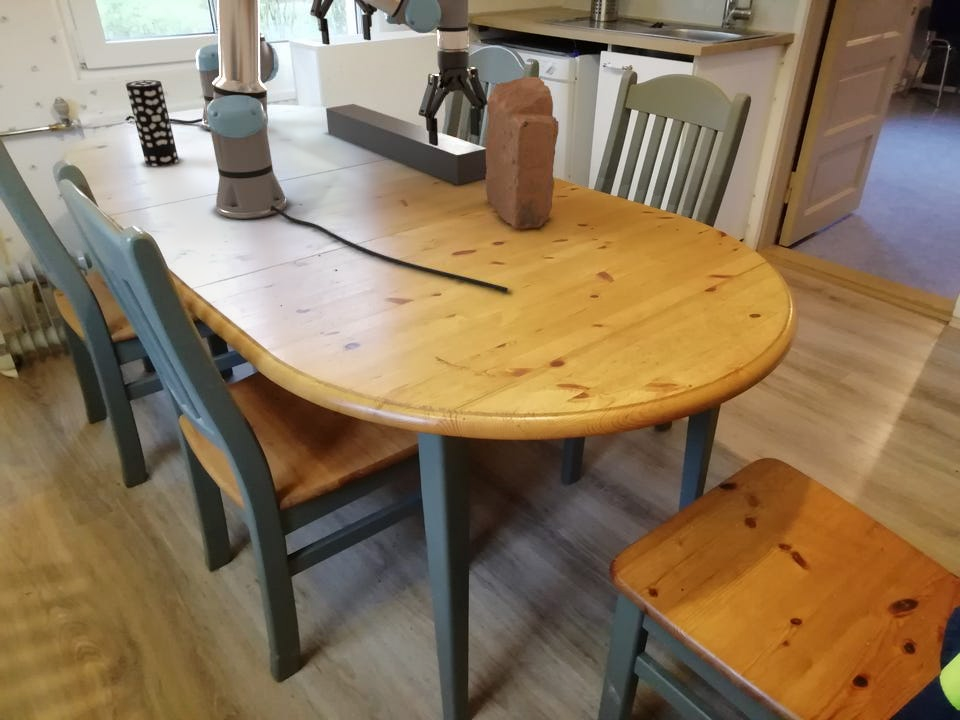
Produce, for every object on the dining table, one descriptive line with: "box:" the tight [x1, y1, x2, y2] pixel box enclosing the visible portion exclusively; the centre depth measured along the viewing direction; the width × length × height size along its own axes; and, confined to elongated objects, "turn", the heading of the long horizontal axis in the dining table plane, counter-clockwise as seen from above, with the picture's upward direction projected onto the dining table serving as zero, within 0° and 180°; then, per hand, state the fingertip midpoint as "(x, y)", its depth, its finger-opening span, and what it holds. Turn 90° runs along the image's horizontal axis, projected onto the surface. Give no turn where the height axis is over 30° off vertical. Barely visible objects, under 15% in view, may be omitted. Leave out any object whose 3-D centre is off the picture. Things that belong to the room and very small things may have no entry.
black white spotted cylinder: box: [125, 79, 179, 167], centre depth 181 cm, size 8×8×20 cm
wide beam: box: [325, 103, 487, 186], centre depth 194 cm, size 63×10×8 cm, turn 41°
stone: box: [484, 76, 560, 230], centre depth 149 cm, size 22×11×28 cm, turn 18°
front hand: (454, 139), depth 176 cm, fingers open, 13 cm apart
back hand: (347, 42), depth 197 cm, fingers open, 13 cm apart
